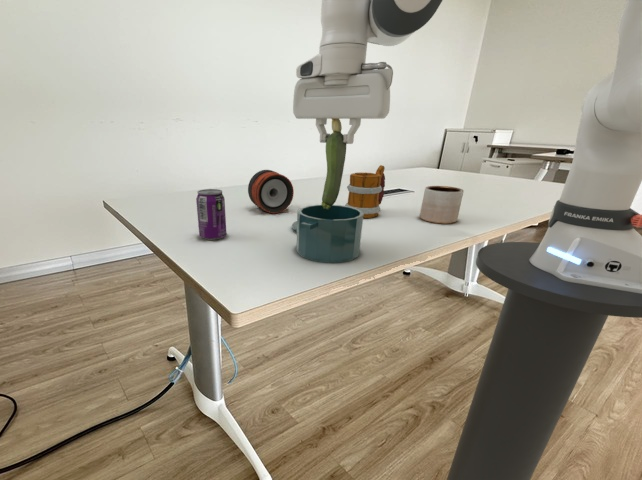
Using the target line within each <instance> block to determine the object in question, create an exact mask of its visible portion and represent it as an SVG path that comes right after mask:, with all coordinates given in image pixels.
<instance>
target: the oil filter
mask: <svg viewBox="0 0 642 480" xmlns="http://www.w3.org/2000/svg"><path fill="white" fill-rule="evenodd" d="M247 194H248V196H249V199H250V201H251V202H252V203H253V204H254V205H255V206H256V207H257V208H260V209H261V210H264V211H265V212H267V213H269V214H279V213H282V212H284V211H286V210H287V208H288V207H289V206H290V205H291V204H292V202H293V199H294V185H293V183H292V181H291V180H290V179H289V177H287V176H285V175H284V174H281V173H279V172H277V171H274V170H270V169H261V170H259V171H257V172H256V173H254V174H253V176H252V177H251V178H250V179H249V182H248V185H247Z"/></svg>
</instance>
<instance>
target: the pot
mask: <svg viewBox="0 0 642 480" xmlns="http://www.w3.org/2000/svg"><path fill="white" fill-rule="evenodd" d="M296 215H297V216H296V221H297V231H296V242H295V243H296V246H295V249H296V253H297V254H298V255H299V256H300V257H302V258H304V259H306V260H310V261H313V262H318V263H326V264H327V263H328V264H331V263H332V264H335V263H336V264H337V263H346V262H349V261H354V260H355V259H357V258H358V257H359V255H360V249H361V241H362V234H363V233H362V232H363V231H362V230H363V224H364V223H363V222H364V218H363V216H364V213H363V212H362V211H361V210H359V209H356V208H353V207H348V206H345V205H341V204H333V205H332V206H331V207H330V208H329V209H328V210H327V209H326V208H323V206H322V205H321V204H311V205H306V206H303V207H300V208H299V209H298V210H297V214H296Z"/></svg>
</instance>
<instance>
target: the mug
mask: <svg viewBox="0 0 642 480" xmlns="http://www.w3.org/2000/svg"><path fill="white" fill-rule="evenodd" d="M385 169H386V167H385V166H384V165H381V164H380V165H379V166H378V167H377V169H376V171H375V173H373V172H354V173H350V175H349V184H347V186H346V189H347V191H348V195H347V202H346V203H345V204H344V206H348V207H353V208H356V209H359V210H361V211H362V212H363V213H364V216H363V219H373V218H376V217H378V215H379V212H380V211H381V206H380V205H381V204H382V201H383V198H384V197H385V187H386V176H385V173H384V172H385Z"/></svg>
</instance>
